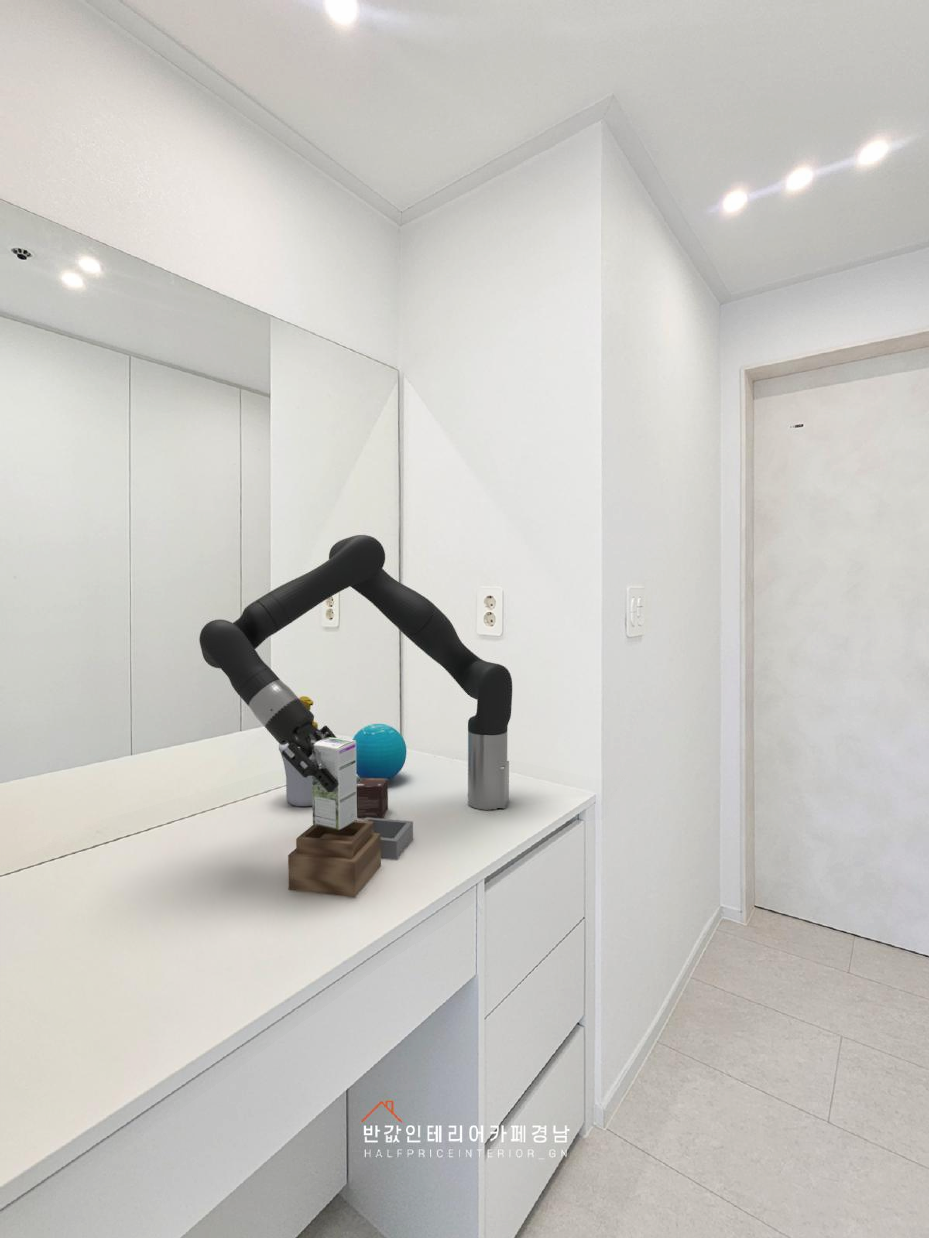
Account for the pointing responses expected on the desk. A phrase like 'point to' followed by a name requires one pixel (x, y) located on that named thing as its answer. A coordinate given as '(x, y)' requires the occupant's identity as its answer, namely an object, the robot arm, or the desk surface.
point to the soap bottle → (298, 775)
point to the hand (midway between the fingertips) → (343, 781)
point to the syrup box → (342, 801)
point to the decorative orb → (379, 751)
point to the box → (372, 797)
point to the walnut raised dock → (335, 859)
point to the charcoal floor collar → (392, 835)
